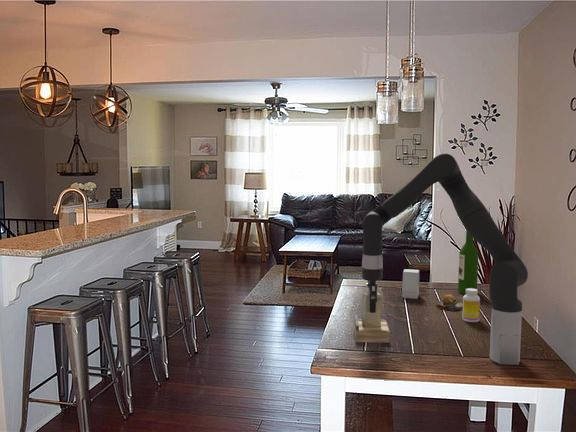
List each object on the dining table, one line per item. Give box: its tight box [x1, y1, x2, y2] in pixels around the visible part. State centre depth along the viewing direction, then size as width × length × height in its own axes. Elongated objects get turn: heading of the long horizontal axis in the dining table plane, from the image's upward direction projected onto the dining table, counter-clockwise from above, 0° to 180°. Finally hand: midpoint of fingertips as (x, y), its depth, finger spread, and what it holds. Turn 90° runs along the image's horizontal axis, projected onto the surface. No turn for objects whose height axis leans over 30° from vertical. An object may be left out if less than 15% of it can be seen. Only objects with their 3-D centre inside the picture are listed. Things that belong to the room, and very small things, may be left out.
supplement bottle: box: [461, 288, 481, 323], centre depth 223 cm, size 7×7×13 cm
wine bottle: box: [457, 229, 479, 295], centre depth 268 cm, size 9×9×32 cm
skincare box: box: [361, 291, 383, 327], centre depth 204 cm, size 6×4×12 cm
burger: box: [436, 292, 463, 312], centre depth 244 cm, size 12×12×8 cm
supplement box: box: [401, 268, 420, 300], centre depth 262 cm, size 7×7×13 cm
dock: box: [353, 314, 391, 344], centre depth 204 cm, size 14×12×6 cm
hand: (371, 309), depth 203 cm, fingers open, 8 cm apart
